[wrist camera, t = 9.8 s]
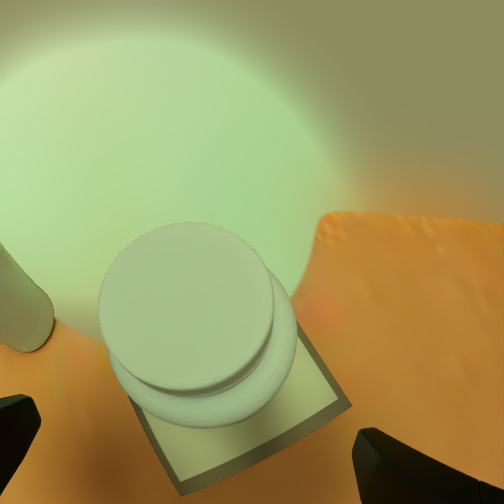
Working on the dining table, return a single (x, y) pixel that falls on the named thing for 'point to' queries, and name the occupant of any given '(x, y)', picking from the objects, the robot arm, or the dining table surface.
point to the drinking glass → (22, 308)
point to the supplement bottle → (196, 326)
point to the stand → (249, 426)
